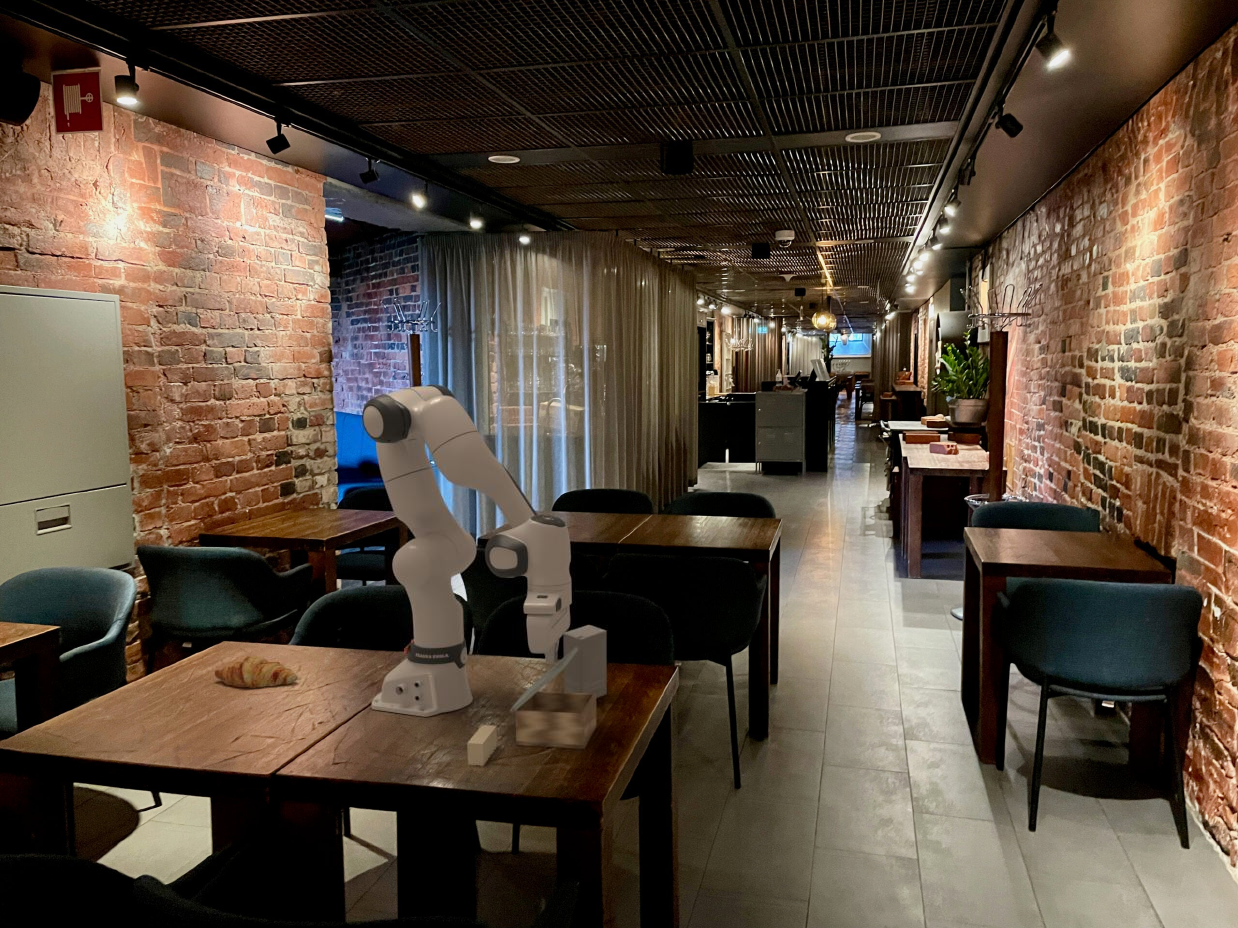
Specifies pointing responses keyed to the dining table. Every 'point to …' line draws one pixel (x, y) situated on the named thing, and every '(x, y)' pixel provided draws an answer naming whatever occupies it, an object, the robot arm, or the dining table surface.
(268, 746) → the dining table surface
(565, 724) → the crate
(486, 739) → the tan rectangular block
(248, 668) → the croissant
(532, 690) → the lid
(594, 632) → the skincare box
